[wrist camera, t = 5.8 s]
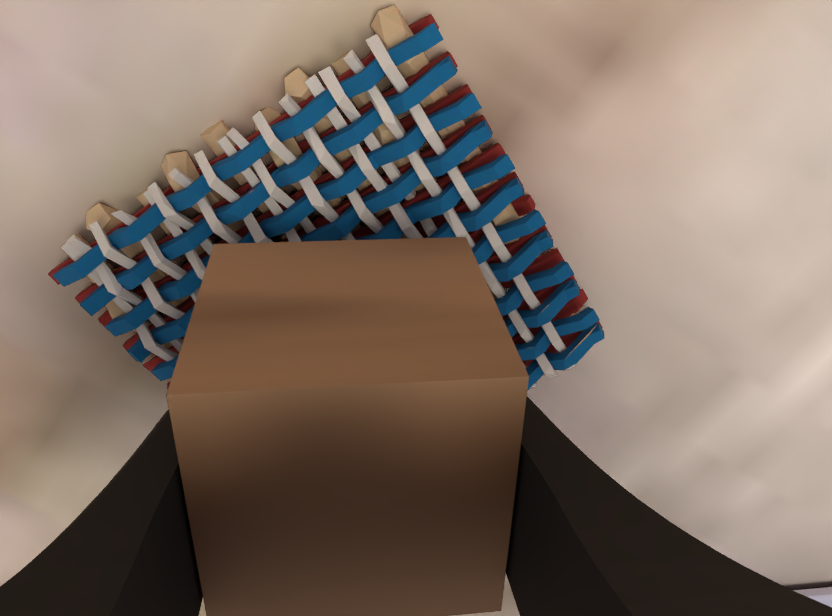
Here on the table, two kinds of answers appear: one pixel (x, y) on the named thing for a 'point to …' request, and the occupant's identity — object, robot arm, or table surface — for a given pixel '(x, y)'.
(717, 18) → the table surface
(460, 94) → the woven mat
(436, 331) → the cube
